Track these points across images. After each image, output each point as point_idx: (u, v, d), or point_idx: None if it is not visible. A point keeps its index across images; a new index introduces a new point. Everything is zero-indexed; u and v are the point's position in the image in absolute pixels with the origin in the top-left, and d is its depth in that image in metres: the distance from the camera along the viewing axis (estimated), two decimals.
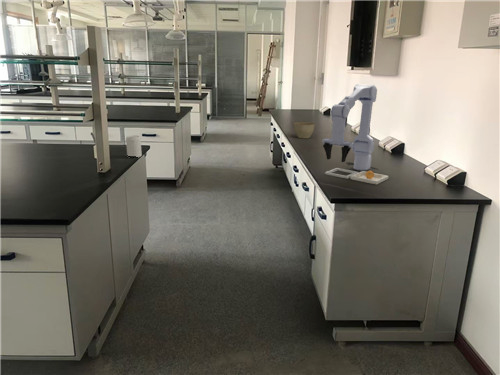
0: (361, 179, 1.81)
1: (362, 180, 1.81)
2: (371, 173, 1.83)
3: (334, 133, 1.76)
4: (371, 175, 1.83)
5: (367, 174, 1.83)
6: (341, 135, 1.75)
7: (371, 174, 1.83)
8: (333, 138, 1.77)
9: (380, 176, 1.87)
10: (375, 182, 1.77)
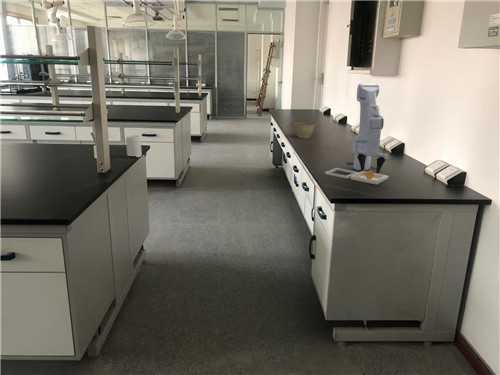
0: (361, 179, 1.81)
1: (362, 180, 1.81)
2: (371, 173, 1.83)
3: (369, 145, 1.79)
4: (371, 175, 1.83)
5: (367, 174, 1.83)
6: (376, 147, 1.78)
7: (371, 174, 1.83)
8: (368, 149, 1.80)
9: (380, 176, 1.87)
10: (375, 182, 1.77)
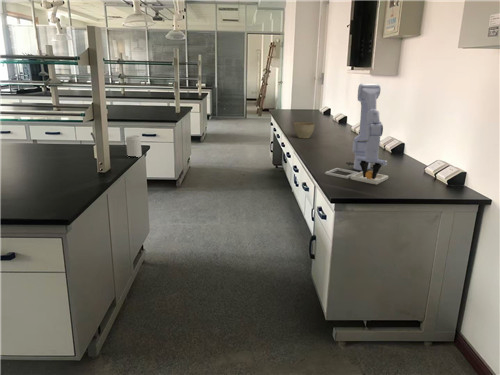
0: (361, 179, 1.81)
1: (362, 180, 1.81)
2: (371, 173, 1.83)
3: (369, 151, 1.79)
4: (371, 175, 1.83)
5: (367, 174, 1.83)
6: (375, 153, 1.79)
7: (371, 174, 1.83)
8: (367, 156, 1.81)
9: (380, 176, 1.87)
10: (375, 182, 1.77)
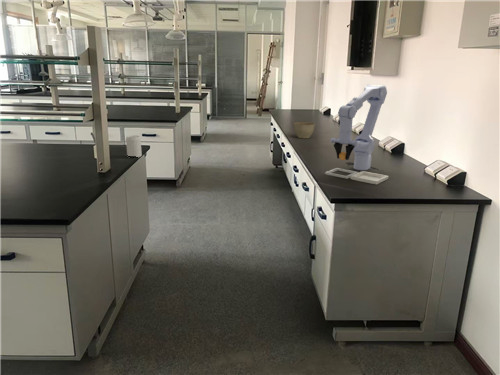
0: (361, 179, 1.81)
1: (362, 180, 1.81)
2: (344, 154, 1.89)
3: (341, 133, 1.85)
4: (344, 156, 1.89)
5: (340, 155, 1.89)
6: (348, 135, 1.85)
7: (344, 155, 1.89)
8: (340, 137, 1.86)
9: (380, 176, 1.87)
10: (375, 182, 1.77)
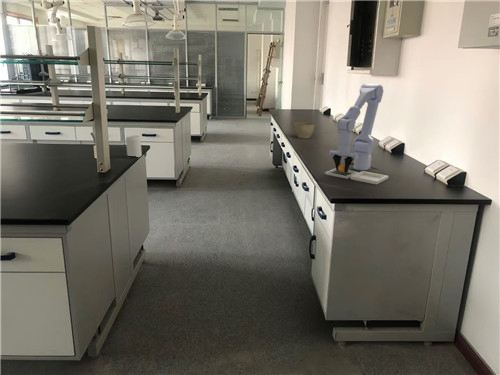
0: (361, 179, 1.81)
1: (362, 180, 1.81)
2: (343, 166, 1.91)
3: (340, 145, 1.87)
4: (343, 168, 1.90)
5: (339, 167, 1.91)
6: (347, 147, 1.87)
7: (343, 167, 1.90)
8: (339, 150, 1.88)
9: (380, 176, 1.87)
10: (375, 182, 1.77)
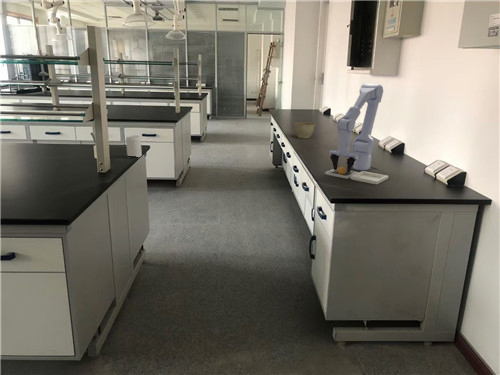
0: (361, 179, 1.81)
1: (362, 180, 1.81)
2: (343, 169, 1.91)
3: (340, 145, 1.87)
4: (343, 171, 1.91)
5: (339, 170, 1.91)
6: (347, 147, 1.87)
7: (343, 170, 1.91)
8: (339, 150, 1.88)
9: (380, 176, 1.87)
10: (375, 182, 1.77)
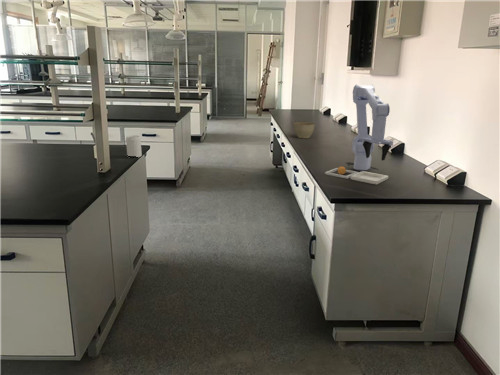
0: (361, 179, 1.81)
1: (362, 180, 1.81)
2: (343, 169, 1.91)
3: (375, 132, 1.79)
4: (343, 170, 1.91)
5: (339, 170, 1.91)
6: (382, 134, 1.79)
7: (343, 170, 1.91)
8: (373, 136, 1.80)
9: (380, 176, 1.87)
10: (375, 182, 1.77)
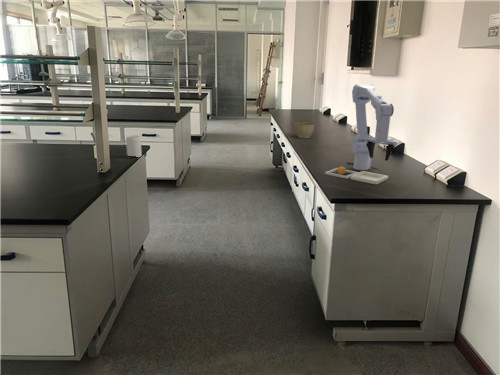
0: (361, 179, 1.81)
1: (362, 180, 1.81)
2: (342, 169, 1.91)
3: (378, 132, 1.79)
4: (343, 170, 1.91)
5: (339, 170, 1.92)
6: (385, 134, 1.78)
7: (342, 169, 1.91)
8: (377, 136, 1.80)
9: (380, 176, 1.87)
10: (375, 182, 1.77)
